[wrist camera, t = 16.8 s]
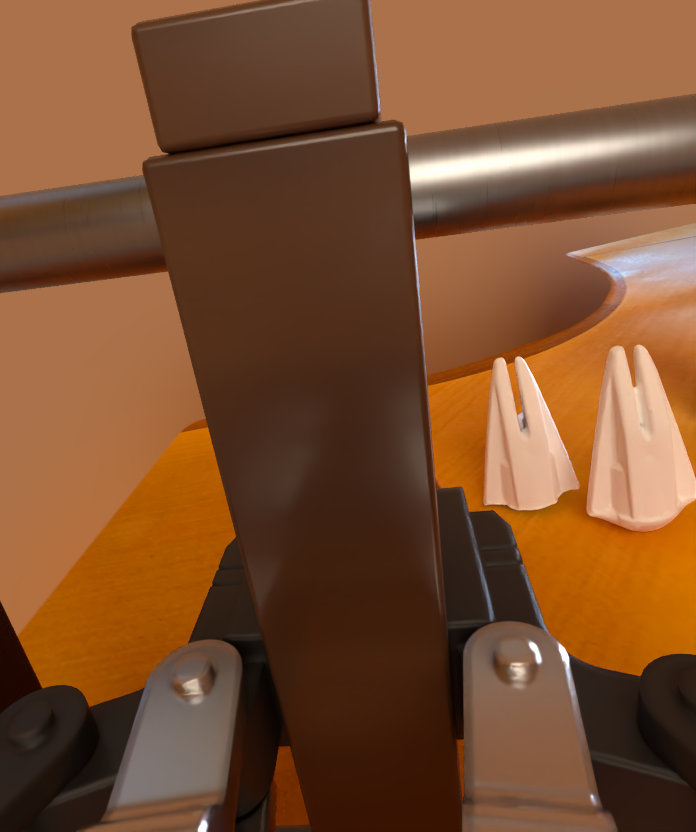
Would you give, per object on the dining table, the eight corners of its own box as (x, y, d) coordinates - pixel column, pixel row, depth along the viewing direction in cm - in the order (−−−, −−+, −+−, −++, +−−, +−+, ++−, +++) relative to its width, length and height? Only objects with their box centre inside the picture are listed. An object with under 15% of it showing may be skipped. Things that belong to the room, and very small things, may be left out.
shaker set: (698, 517, 34) (723, 338, 29) (685, 558, 31) (711, 365, 26) (504, 475, 41) (500, 326, 36) (479, 505, 38) (472, 346, 33)
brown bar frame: (846, 1181, 10) (1748, -375, 2) (67, 1154, 11) (-801, 123, 4) (619, 685, 19) (670, 47, 12) (209, 705, 20) (27, 149, 13)
